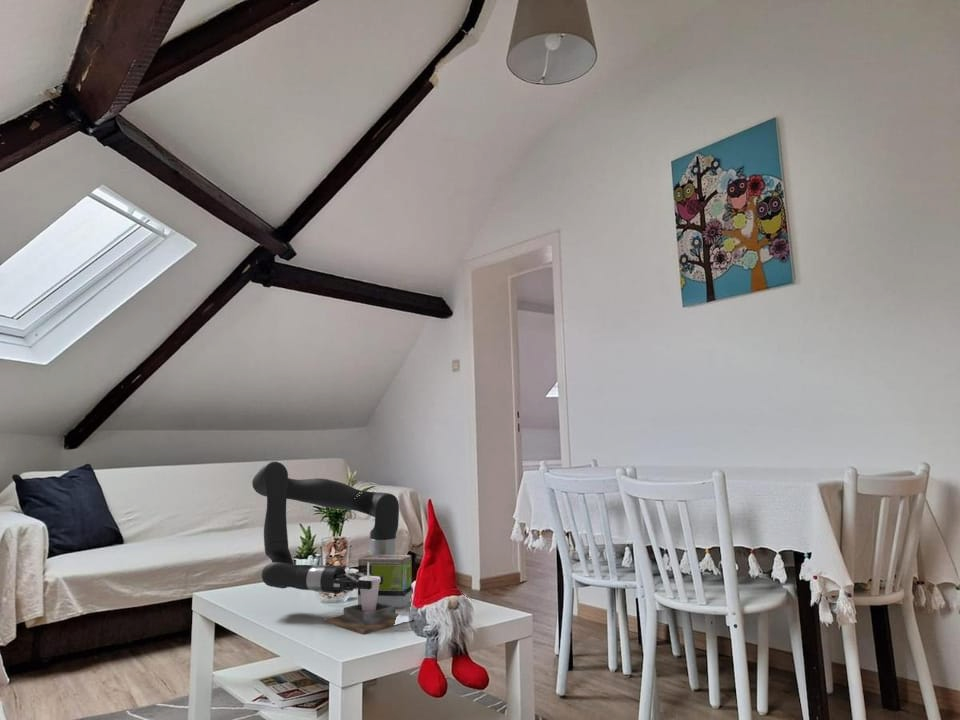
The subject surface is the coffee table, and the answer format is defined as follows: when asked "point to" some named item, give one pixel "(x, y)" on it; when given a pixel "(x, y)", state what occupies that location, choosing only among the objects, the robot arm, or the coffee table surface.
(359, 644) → the coffee table surface
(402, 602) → the tea box
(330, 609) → the coffee table surface
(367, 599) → the smoothie
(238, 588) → the coffee table surface
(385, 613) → the collar stand
